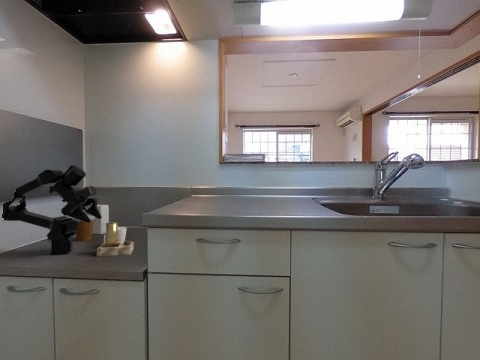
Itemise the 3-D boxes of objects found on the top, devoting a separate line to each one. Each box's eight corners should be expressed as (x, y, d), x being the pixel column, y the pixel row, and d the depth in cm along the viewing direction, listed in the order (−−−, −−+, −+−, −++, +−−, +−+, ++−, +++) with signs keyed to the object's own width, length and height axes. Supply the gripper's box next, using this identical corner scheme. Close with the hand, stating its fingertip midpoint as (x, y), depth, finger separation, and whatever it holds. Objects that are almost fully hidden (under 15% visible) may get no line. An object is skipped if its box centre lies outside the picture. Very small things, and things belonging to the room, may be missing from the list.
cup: (129, 246, 120) (129, 228, 120) (106, 250, 113) (106, 231, 113) (123, 243, 125) (123, 226, 125) (101, 246, 118) (101, 229, 118)
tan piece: (107, 254, 107) (107, 224, 106) (104, 252, 110) (105, 222, 110) (118, 252, 109) (118, 223, 109) (116, 250, 113) (116, 221, 113)
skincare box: (109, 232, 148) (109, 204, 148) (100, 234, 141) (100, 206, 141) (96, 231, 150) (97, 204, 149) (87, 233, 143) (87, 205, 143)
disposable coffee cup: (67, 241, 126) (68, 216, 126) (82, 236, 136) (82, 213, 136) (85, 242, 125) (85, 217, 125) (99, 237, 134) (99, 214, 134)
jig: (96, 256, 104) (96, 245, 104) (102, 249, 113) (102, 239, 113) (130, 254, 107) (130, 243, 107) (133, 248, 116) (133, 238, 116)
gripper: (69, 180, 99) (99, 209, 100) (93, 179, 118) (118, 204, 119) (47, 200, 99) (77, 229, 100) (75, 196, 117) (100, 221, 118)
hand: (95, 220), depth 109 cm, fingers open, 9 cm apart
